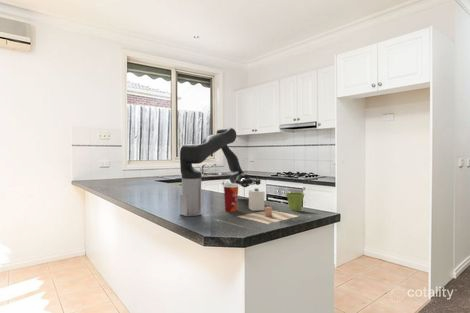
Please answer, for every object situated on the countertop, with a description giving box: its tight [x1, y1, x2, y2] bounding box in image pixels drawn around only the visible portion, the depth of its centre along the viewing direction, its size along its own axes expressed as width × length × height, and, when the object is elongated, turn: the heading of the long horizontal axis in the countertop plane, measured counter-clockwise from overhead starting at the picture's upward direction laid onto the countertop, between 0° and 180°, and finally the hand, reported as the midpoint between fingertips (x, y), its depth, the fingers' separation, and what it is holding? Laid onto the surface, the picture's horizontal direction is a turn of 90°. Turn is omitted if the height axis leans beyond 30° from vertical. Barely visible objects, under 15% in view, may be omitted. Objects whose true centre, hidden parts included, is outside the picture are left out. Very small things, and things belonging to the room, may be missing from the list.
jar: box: [264, 206, 273, 217], centre depth 128 cm, size 3×3×4 cm
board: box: [236, 210, 299, 225], centre depth 128 cm, size 22×18×1 cm
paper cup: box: [223, 182, 240, 213], centre depth 141 cm, size 8×8×14 cm
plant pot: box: [285, 192, 305, 212], centre depth 145 cm, size 9×9×9 cm
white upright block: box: [248, 187, 266, 211], centre depth 145 cm, size 6×6×11 cm
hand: (250, 183), depth 156 cm, fingers open, 8 cm apart
